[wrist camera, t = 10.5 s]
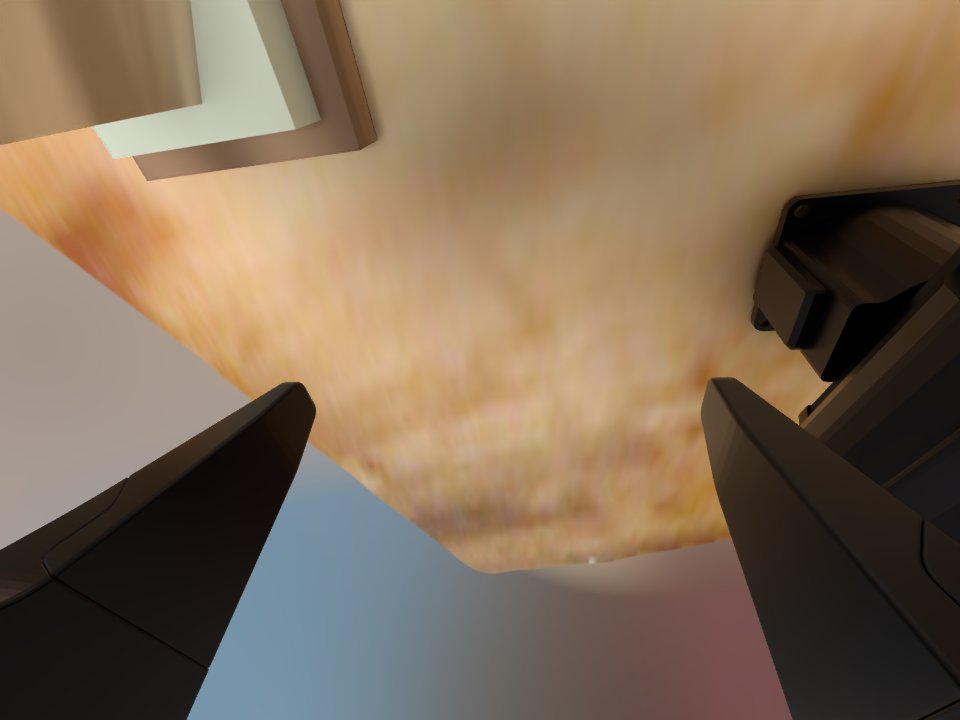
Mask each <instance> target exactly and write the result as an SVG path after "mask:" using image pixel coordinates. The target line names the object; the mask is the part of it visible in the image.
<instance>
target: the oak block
mask: <svg viewBox="0 0 960 720" xmlns="http://www.w3.org/2000/svg"><path fill="white" fill-rule="evenodd" d="M199 104H202V98H201V89H200V80H199V72H198V63H197V54H196V45H195V36H194V28H193V19H192V10H191V1H190V0H0V145H3V144H8V143H12V142H17V141H22V140H27V139H32V138H37V137H42V136H47V135H52V134H57V133H62V132H67V131H71V130H76V129H81V128H86V127H91V126H96V125H101V124H106V123H111V122H116V121H121V120H125V119H130V118H135V117H140V116H145V115H150V114H155V113H160V112H165V111H170V110H175V109H180V108H184V107H189V106H194V105H199Z"/></svg>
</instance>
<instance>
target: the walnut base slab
mask: <svg viewBox="0 0 960 720" xmlns="http://www.w3.org/2000/svg"><path fill="white" fill-rule="evenodd" d="M280 1H281V3H282V6H283V9H284V12H285V15H286V18H287V21H288V24H289V27H290V30H291V33H292V36H293V39H294V42H295V45H296V48H297V51H298V54H299V57H300V59H301V62H302V65H303V68H304V71H305V74H306V77H307V80H308V83H309V86H310V89H311V92H312V95H313V98H314V101H315V104H316V107H317V110H318V112H319V115H320V118H321V120H320V121H317V122H315V123H312V124H309V125H306V126H304V127H301V128H298V129H295V130H289V131H283V132H277V133H271V134H265V135H259V136H253V137H247V138H240V139H234V140H228V141H222V142H216V143H210V144H204V145H198V146H192V147H186V148H179V149H173V150H167V151H161V152H155V153H149V154H143V155H137V156H132V157H133V158H134V160H135V162H136V163H137V165H138V167H139V168H140V170H141V171H142V173H143V175H144V176H145V178H146V180H147V181H151V180H158V179H165V178H171V177H178V176H185V175H192V174H199V173H206V172H213V171H219V170H226V169H233V168H240V167H247V166H254V165H261V164H268V163H274V162H281V161H288V160H295V159H302V158H309V157H316V156H322V155H329V154H336V153H343V152H350V151H357V150H361V149H362V148H364V147H366V146H368V145H369V144H371V143H373V142H374V141H376V140H377V139H376V135H375V131H374V128H373V124H372V120H371V117H370V113H369V109H368V106H367V102H366V98H365V95H364V91H363V87H362V84H361V80H360V76H359V73H358V69H357V66H356V62H355V58H354V55H353V51H352V47H351V44H350V40H349V36H348V33H347V29H346V25H345V22H344V18H343V14H342V11H341V7H340V3H339V0H280Z"/></svg>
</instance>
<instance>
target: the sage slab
mask: <svg viewBox="0 0 960 720" xmlns="http://www.w3.org/2000/svg"><path fill="white" fill-rule="evenodd" d="M190 1H191V10H192V19H193V28H194V36H195V45H196V54H197V63H198V72H199V80H200V89H201V98H202V104H199V105H194V106H189V107H184V108H180V109H175V110H170V111H165V112H160V113H155V114H150V115H145V116H140V117H135V118H130V119H125V120H121V121H116V122H111V123H106V124H101V125H96V126H93V128H94V130H95V131H96V133H97V134H98V136H99V137H100V139H101V140H102V142H103V144H104V145H105V147H106V148H107V150H108V151H109V153H110V154H111V156H112V158H113V159H118V158H125V157H131V156H137V155H143V154H149V153H155V152H161V151H167V150H173V149H179V148H186V147H192V146H198V145H204V144H210V143H216V142H222V141H228V140H234V139H240V138H247V137H253V136H259V135H265V134H271V133H277V132H283V131H289V130H295V129H298V128H301V127H304V126H306V125H309V124H312V123H315V122H317V121H320V120H321V118H320V115H319V112H318V110H317V107H316V104H315V101H314V98H313V95H312V92H311V89H310V86H309V83H308V80H307V77H306V74H305V71H304V68H303V65H302V62H301V59H300V57H299V54H298V51H297V48H296V45H295V42H294V39H293V36H292V33H291V30H290V27H289V24H288V21H287V18H286V15H285V12H284V9H283V6H282V3H281V1H280V0H190Z"/></svg>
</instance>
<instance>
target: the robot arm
mask: <svg viewBox="0 0 960 720" xmlns="http://www.w3.org/2000/svg"><path fill="white" fill-rule="evenodd" d="M959 195H960V181H952V182H941V183H930V184H920V185H909V186H899V187H888V188H877V189H867V190H856V191H845V192H835V193H824V194H814V195H803V196H798V197H795V198H793V199H791V200H790V201H789V202H788V203H787V204H786V205H785V207H784V209H783V213H782V216H781V220H780V223H779V226H778V230H777V233H776V237H775V240H774V243H773V246H772V247H770V248H769V249H768V250H767V251H766V254H765V257H764V261H763V264H762V268H761V271H760V275H759V278H758V281H757V285H756V288H755V292H754V295H753V300H754V301H755V302H756V304H755V308H754V311H753V314H752V318H751V322H752V324H753V326H754V327H755V329H757V330H759V331H776V332H777V334H778V335H779V337H780V338H781V339H782V341H783V342H784V344H785V345H786V346H787V347H788V348H789V349H791V350H800V351H801V353H802V354H803V355H804V357H805V358H806V359H807V361H808V362H809V363H810V365H811V366H812V367H813V369H814V370H815V372H816V373H817V374H818V376H819V377H820V378H821V380H823V381H825V382H833V383H832V384H831V385H830V386H829V387H828V388H827V389H826V390H825V391H824V393H823V394H822V395H821V396H820V397H819V398H818V399H817V400H816V401H815V402H814V403H813V404H812V405H808V406H806V407H805V409H804V410H803V411H802V412H801V413H800V414H799V425H800V426H799V425H798V424H796V423H795V422H793V421H792V420H791V419H789V418H788V417H787V416H785V415H784V414H783V413H781V412H780V411H779V410H777V409H776V408H775V407H773V406H772V405H771V404H769V403H768V402H766V401H765V400H764V399H762V398H761V397H760V396H758V395H757V394H756V393H754V392H753V391H752V390H750V389H749V388H748V387H746V386H745V385H744V384H742V383H741V382H739V381H738V380H737V379H735V378H731V377H714V378H711V379H710V380H709V381H708V383H707V387H706V391H705V395H704V399H703V403H702V407H701V419H702V424H703V429H704V434H705V439H706V444H707V450H708V455H709V460H710V465H711V470H712V475H713V479H714V484H715V488H716V492H717V495H718V498H719V502H720V505H721V508H722V510H723V513H724V516H725V519H726V522H727V525H728V528H729V531H730V534H731V537H732V540H733V543H734V546H735V549H736V552H737V555H738V558H739V561H740V564H741V567H742V570H743V573H744V576H745V579H746V582H747V585H748V588H749V591H750V594H751V597H752V600H753V603H754V606H755V609H756V612H757V615H758V618H759V621H760V624H761V627H762V630H763V633H764V636H765V639H766V642H767V645H768V648H769V651H770V654H771V657H772V659H773V663H774V666H775V669H776V672H777V674H778V677H779V680H780V684H781V686H782V690H783V693H784V695H785V698H786V701H787V704H788V707H789V710H790V713H791V716H792V719H793V720H960V199H958V200H957V197H958V196H959ZM801 205H804V208H803V210H802V211H801V212H800V213H797V214H794V211H795V210H796V208H797V207H799V206H801ZM765 318H767V320H766V321H765V322H760V321H761V320H763V319H765ZM315 416H316V407H315V404H314V402H313V401H312V399H311V397H310V395H309V393H308V392H307V390H306V388H305V386H304V385H303V384H302V383H300V382H284V383H282V384H280V385H278V386H277V387H275V388H273V389H272V390H270V391H268V392H267V393H265V394H263V395H262V396H260V397H259V398H257V399H255V400H254V401H252V402H250V403H249V404H247V405H245V406H244V407H242V408H240V409H239V410H237V411H236V412H234V413H232V414H231V415H229V416H227V417H226V418H224V419H222V420H221V421H219V422H217V423H216V424H214V425H212V426H211V427H209V428H208V429H206V430H204V431H203V432H201V433H199V434H198V435H196V436H194V437H193V438H191V439H189V440H188V441H186V442H185V443H183V444H181V445H180V446H178V447H176V448H175V449H173V450H171V451H170V452H168V453H166V454H165V455H163V456H161V457H160V458H158V459H157V460H155V461H153V462H152V463H150V464H148V465H147V466H145V467H143V468H142V469H140V470H139V471H137V472H135V473H134V474H132V475H131V476H130V477H129V478H125V479H123V480H122V481H120V482H119V483H117V484H115V485H114V486H112V487H110V488H109V489H107V490H105V491H104V492H102V493H100V494H99V495H97V496H95V497H94V498H92V499H90V500H89V501H87V502H85V503H83V504H82V505H80V506H78V507H77V508H75V509H73V510H71V511H69V512H68V513H66V514H64V515H62V516H61V517H59V518H57V519H56V520H54V521H52V522H50V523H48V524H46V525H45V526H43V527H41V528H39V529H37V530H36V531H34V532H32V533H30V534H28V535H26V536H25V537H23V538H21V539H19V540H17V541H16V542H14V543H12V544H10V545H8V546H7V547H5V548H3V549H1V550H0V720H187V717H188V715H189V713H190V711H191V708H192V706H193V704H194V701H195V699H196V697H197V695H198V693H199V690H200V688H201V686H202V684H203V682H204V679H205V677H206V675H207V673H208V670H209V669H208V668H209V667H210V665H211V663H212V661H213V658H214V656H215V654H216V652H217V650H218V647H219V645H220V643H221V641H222V638H223V636H224V634H225V631H226V629H227V627H228V625H229V622H230V620H231V618H232V616H233V614H234V611H235V609H236V607H237V605H238V603H239V600H240V598H241V596H242V594H243V591H244V589H245V587H246V585H247V582H248V580H249V578H250V576H251V573H252V571H253V569H254V567H255V564H256V562H257V560H258V558H259V556H260V553H261V551H262V549H263V547H264V544H265V542H266V540H267V538H268V535H269V533H270V531H271V529H272V526H273V524H274V522H275V520H276V517H277V515H278V513H279V511H280V509H281V506H282V504H283V502H284V500H285V497H286V495H287V493H288V490H289V488H290V486H291V484H292V482H293V479H294V477H295V474H296V472H297V470H298V467H299V464H300V461H301V458H302V455H303V452H304V449H305V446H306V443H307V440H308V437H309V434H310V431H311V428H312V425H313V422H314V419H315Z"/></svg>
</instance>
